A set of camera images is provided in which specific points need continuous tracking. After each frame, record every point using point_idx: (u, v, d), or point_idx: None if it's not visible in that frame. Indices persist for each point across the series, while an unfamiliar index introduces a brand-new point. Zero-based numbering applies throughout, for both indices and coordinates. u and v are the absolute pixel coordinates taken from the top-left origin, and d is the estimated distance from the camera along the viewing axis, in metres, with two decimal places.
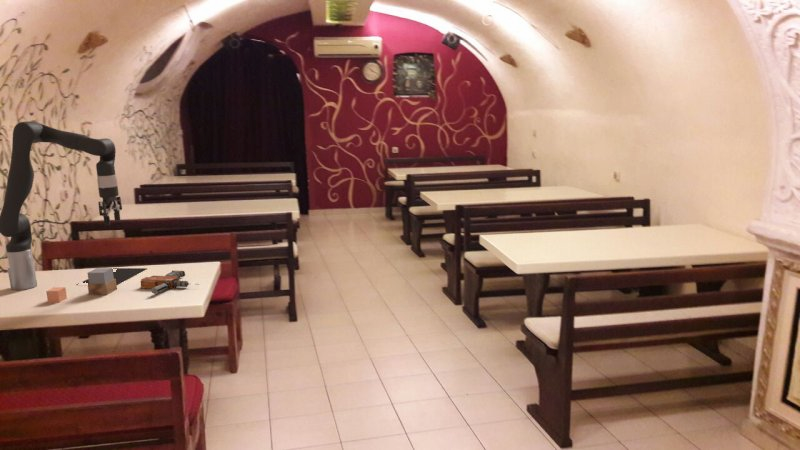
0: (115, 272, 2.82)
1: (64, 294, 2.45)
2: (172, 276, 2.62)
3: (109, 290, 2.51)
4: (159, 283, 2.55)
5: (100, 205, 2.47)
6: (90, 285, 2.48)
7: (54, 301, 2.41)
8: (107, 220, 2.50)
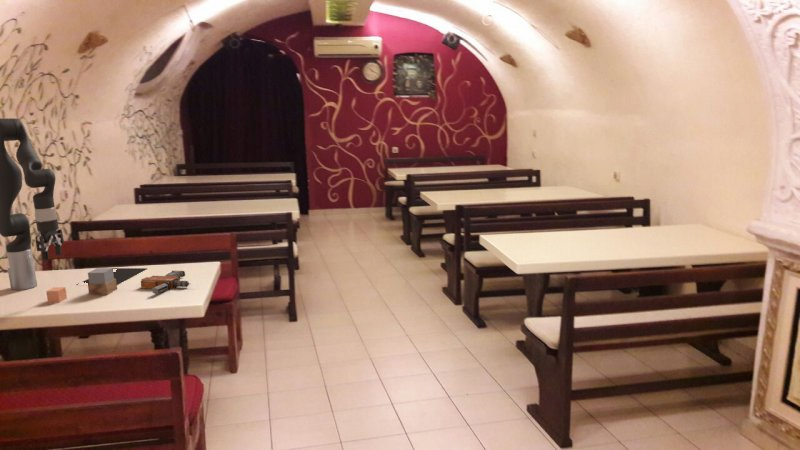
0: (115, 272, 2.82)
1: (64, 294, 2.45)
2: (172, 276, 2.62)
3: (109, 290, 2.51)
4: (159, 283, 2.55)
5: (37, 240, 2.32)
6: (90, 285, 2.48)
7: (54, 301, 2.41)
8: (45, 256, 2.35)
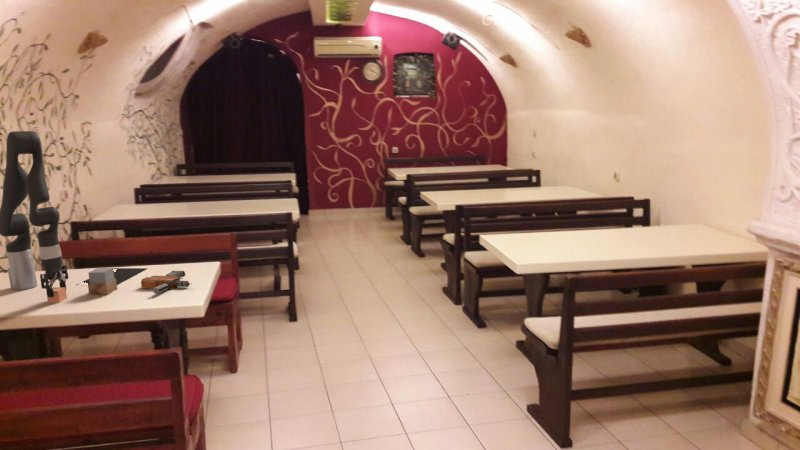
0: (115, 272, 2.82)
1: (64, 294, 2.45)
2: (173, 276, 2.62)
3: (110, 290, 2.51)
4: (160, 283, 2.55)
5: (42, 278, 2.35)
6: (90, 285, 2.48)
7: (54, 301, 2.41)
8: (50, 293, 2.38)
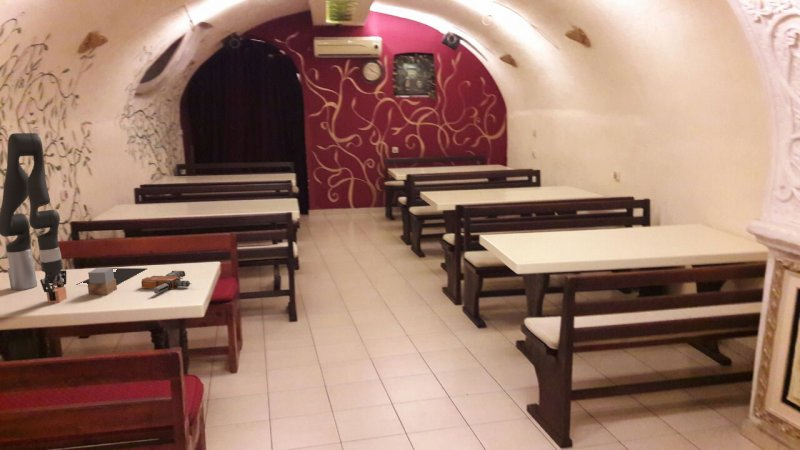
0: (115, 272, 2.82)
1: (64, 294, 2.45)
2: (173, 276, 2.62)
3: (109, 290, 2.50)
4: (160, 283, 2.55)
5: (43, 283, 2.35)
6: (89, 285, 2.48)
7: (54, 301, 2.41)
8: (52, 296, 2.40)
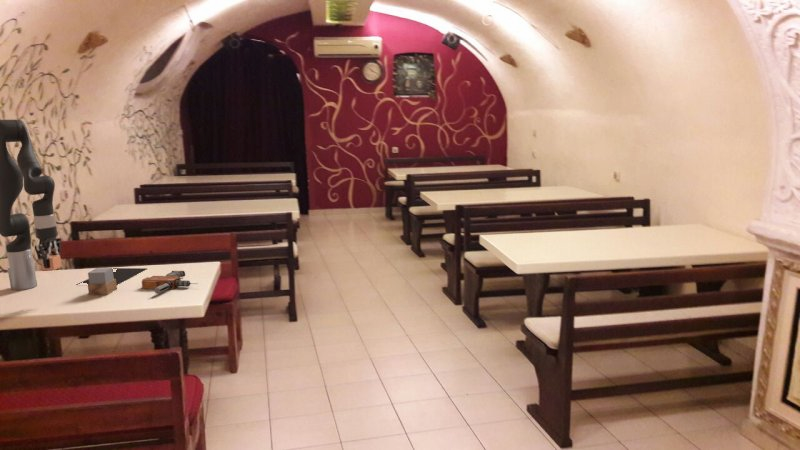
0: (115, 272, 2.82)
1: (59, 262, 2.42)
2: (173, 276, 2.62)
3: (109, 290, 2.50)
4: (161, 283, 2.55)
5: (37, 250, 2.33)
6: (90, 285, 2.48)
7: (48, 269, 2.38)
8: (47, 263, 2.37)
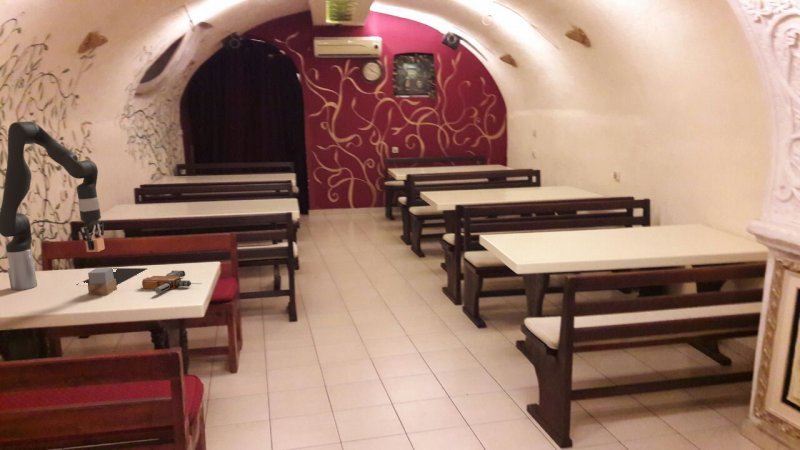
0: (115, 272, 2.82)
1: (102, 244, 2.49)
2: (173, 276, 2.62)
3: (109, 290, 2.50)
4: (161, 283, 2.55)
5: (82, 231, 2.40)
6: (90, 285, 2.48)
7: (92, 250, 2.46)
8: (91, 245, 2.44)
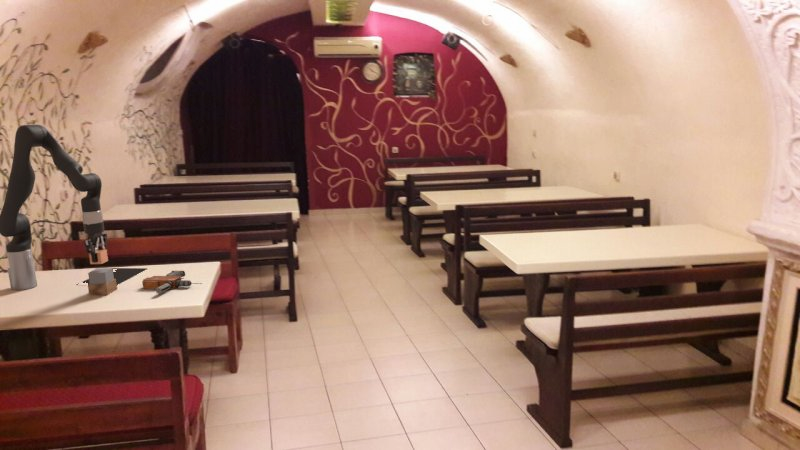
0: (115, 272, 2.82)
1: (106, 256, 2.51)
2: (174, 276, 2.62)
3: (110, 290, 2.50)
4: (161, 283, 2.55)
5: (86, 244, 2.42)
6: (90, 285, 2.48)
7: (96, 263, 2.48)
8: (95, 258, 2.46)
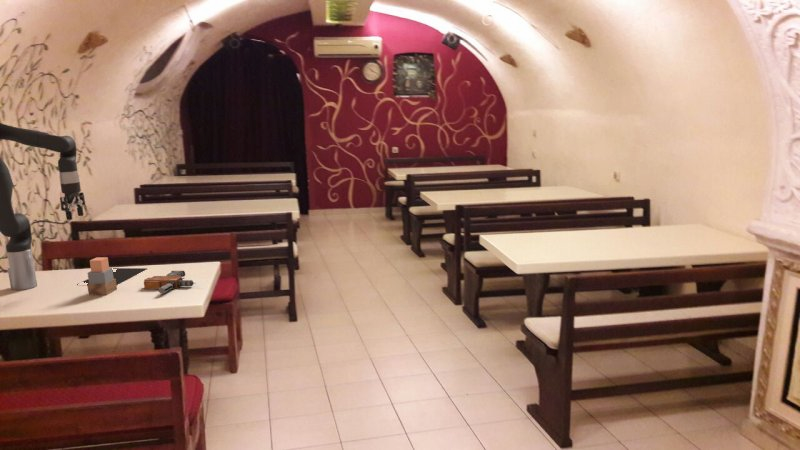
0: (115, 272, 2.82)
1: (107, 264, 2.51)
2: (175, 276, 2.62)
3: (109, 290, 2.50)
4: (163, 283, 2.54)
5: (62, 200, 2.54)
6: (89, 285, 2.48)
7: (97, 271, 2.48)
8: (69, 215, 2.57)
